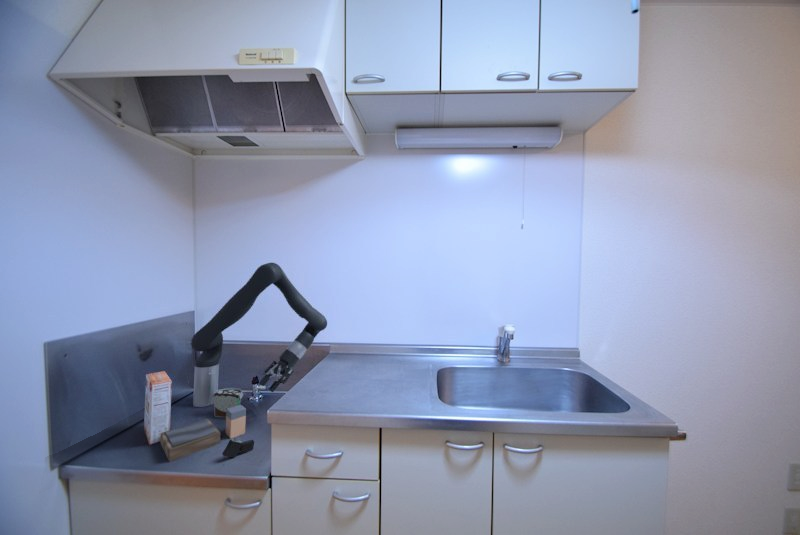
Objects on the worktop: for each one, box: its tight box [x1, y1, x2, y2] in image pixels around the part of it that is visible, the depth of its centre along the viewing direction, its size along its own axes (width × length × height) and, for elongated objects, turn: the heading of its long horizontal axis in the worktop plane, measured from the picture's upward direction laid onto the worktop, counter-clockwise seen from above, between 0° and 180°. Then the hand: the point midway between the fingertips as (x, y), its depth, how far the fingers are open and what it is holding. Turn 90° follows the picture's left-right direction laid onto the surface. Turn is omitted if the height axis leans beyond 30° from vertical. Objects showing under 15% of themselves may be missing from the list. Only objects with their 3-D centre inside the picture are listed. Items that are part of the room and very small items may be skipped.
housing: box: [225, 404, 247, 440], centre depth 108 cm, size 5×5×9 cm
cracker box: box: [143, 370, 173, 446], centre depth 105 cm, size 14×6×21 cm, turn 47°
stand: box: [159, 418, 221, 462], centre depth 100 cm, size 14×14×4 cm
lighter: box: [222, 435, 255, 458], centre depth 96 cm, size 9×2×6 cm
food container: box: [212, 387, 244, 419], centre depth 122 cm, size 12×6×10 cm, turn 84°
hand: (265, 387), depth 116 cm, fingers open, 8 cm apart
